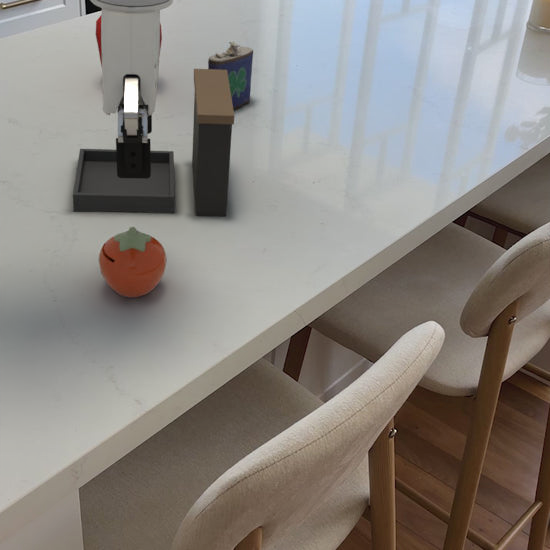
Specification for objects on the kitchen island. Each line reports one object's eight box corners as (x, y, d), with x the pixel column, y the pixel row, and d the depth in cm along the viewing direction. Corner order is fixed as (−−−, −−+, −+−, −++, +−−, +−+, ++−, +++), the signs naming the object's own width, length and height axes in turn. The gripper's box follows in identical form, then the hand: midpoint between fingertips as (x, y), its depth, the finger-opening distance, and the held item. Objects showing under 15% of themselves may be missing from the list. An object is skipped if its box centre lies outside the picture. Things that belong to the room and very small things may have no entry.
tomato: (91, 275, 101) (89, 215, 96) (154, 264, 104) (155, 205, 99) (109, 313, 96) (108, 251, 91) (175, 300, 98) (176, 239, 94)
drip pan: (73, 211, 112) (72, 194, 111) (80, 164, 123) (80, 148, 121) (174, 212, 114) (174, 196, 113) (173, 166, 124) (173, 151, 123)
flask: (242, 97, 146) (246, 33, 140) (255, 103, 145) (260, 39, 138) (202, 112, 140) (205, 46, 134) (215, 118, 139) (219, 52, 132)
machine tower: (193, 216, 114) (197, 114, 106) (190, 164, 125) (193, 68, 117) (228, 217, 114) (234, 115, 106) (221, 164, 126) (227, 69, 118)
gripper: (95, -45, 87) (102, 116, 96) (82, 13, 73) (92, 196, 82) (172, -42, 88) (171, 118, 97) (174, 17, 74) (173, 196, 83)
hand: (135, 153), depth 90 cm, fingers open, 9 cm apart
